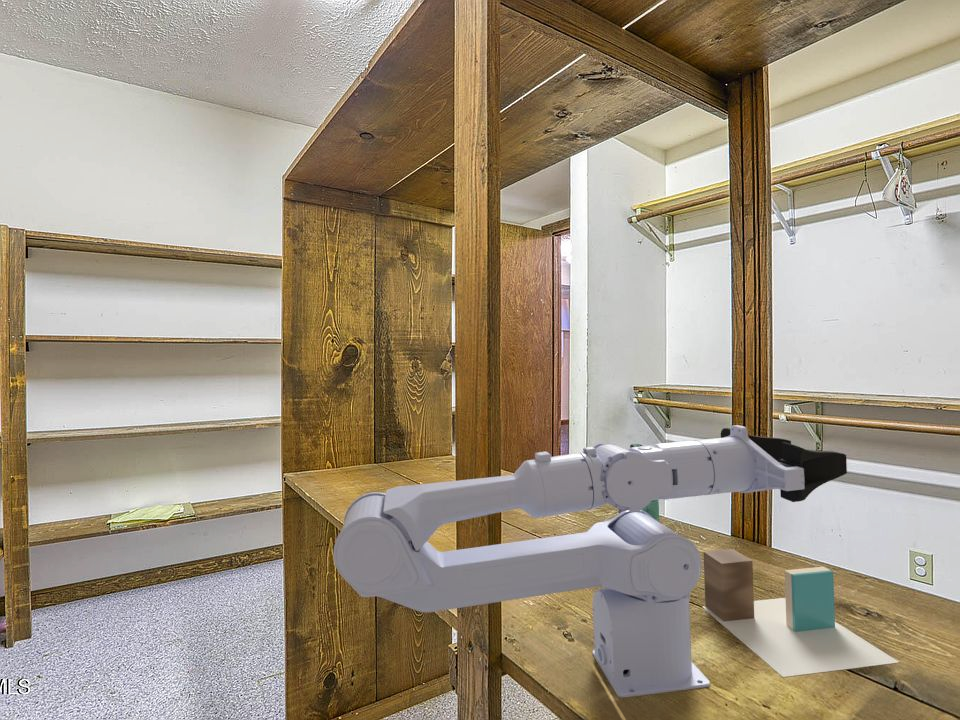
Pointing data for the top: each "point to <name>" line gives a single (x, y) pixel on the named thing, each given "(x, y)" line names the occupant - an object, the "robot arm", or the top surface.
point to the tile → (809, 599)
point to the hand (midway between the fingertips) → (814, 455)
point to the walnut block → (729, 584)
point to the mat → (801, 643)
